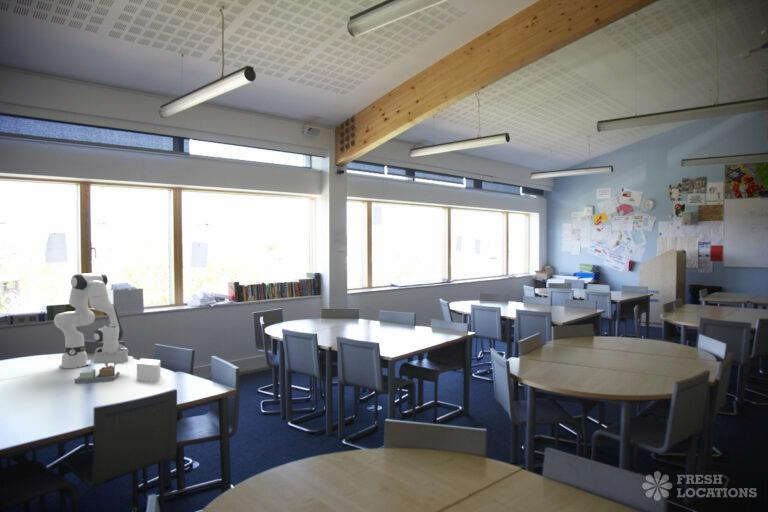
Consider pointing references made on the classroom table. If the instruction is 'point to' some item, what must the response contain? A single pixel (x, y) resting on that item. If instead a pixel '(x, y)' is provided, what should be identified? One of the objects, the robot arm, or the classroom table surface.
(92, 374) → the sage block
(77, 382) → the lane rack
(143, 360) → the white rectangular box
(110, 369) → the walnut block
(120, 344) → the bluetooth speaker
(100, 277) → the robot arm
